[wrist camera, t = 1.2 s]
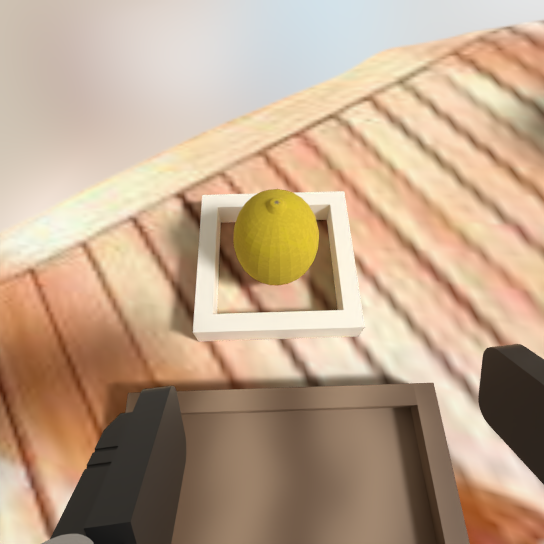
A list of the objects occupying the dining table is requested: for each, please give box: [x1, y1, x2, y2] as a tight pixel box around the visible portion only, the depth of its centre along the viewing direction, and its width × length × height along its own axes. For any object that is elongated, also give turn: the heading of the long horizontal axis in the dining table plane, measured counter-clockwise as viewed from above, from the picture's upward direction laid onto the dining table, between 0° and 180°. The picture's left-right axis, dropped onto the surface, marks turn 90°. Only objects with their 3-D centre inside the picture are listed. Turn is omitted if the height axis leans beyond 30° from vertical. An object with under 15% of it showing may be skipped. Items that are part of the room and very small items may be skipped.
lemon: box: [233, 189, 319, 285], centre depth 24 cm, size 6×6×8 cm
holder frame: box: [193, 191, 365, 341], centre depth 27 cm, size 11×11×2 cm
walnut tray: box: [125, 383, 470, 544], centre depth 19 cm, size 18×14×2 cm
